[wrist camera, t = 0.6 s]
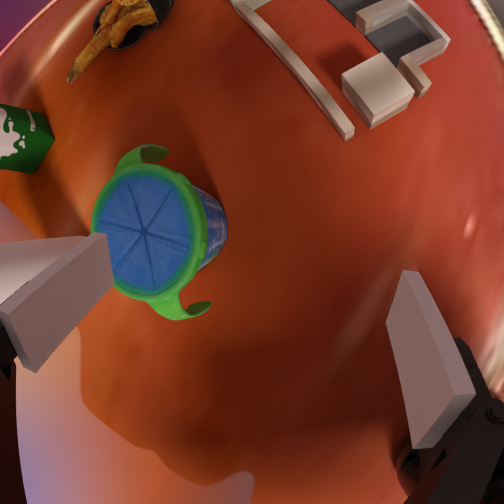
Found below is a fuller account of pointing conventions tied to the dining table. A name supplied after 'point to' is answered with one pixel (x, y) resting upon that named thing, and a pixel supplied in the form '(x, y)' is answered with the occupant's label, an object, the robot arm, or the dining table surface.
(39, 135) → the milk carton
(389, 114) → the cream block
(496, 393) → the dining table surface
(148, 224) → the snack cup
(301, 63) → the box
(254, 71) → the dining table surface
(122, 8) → the fried shrimp in bowl
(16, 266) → the bottle
